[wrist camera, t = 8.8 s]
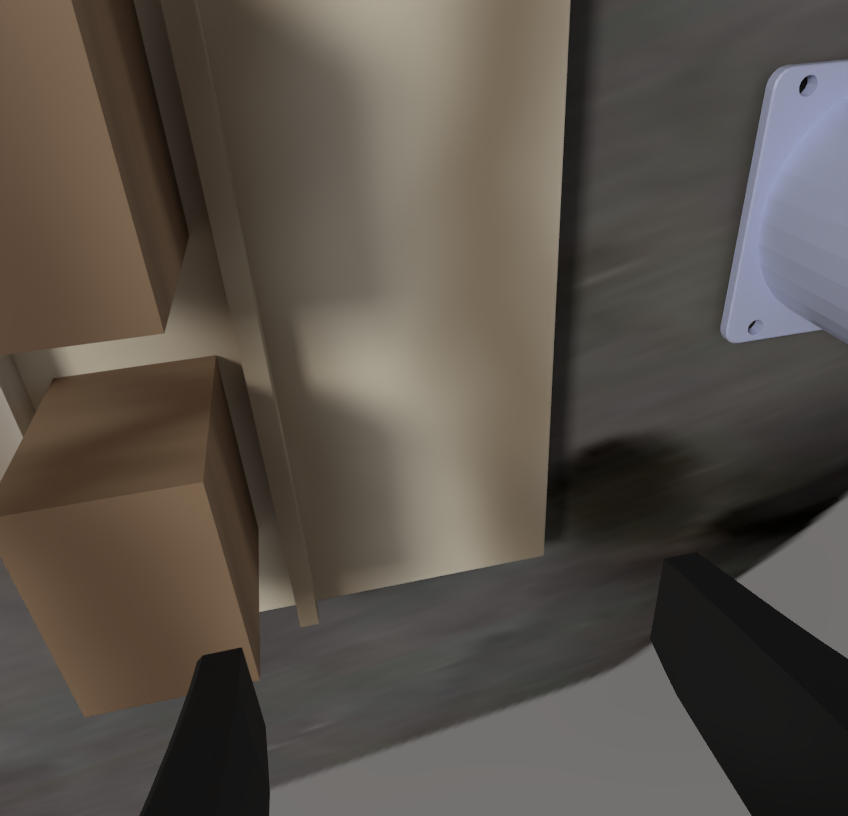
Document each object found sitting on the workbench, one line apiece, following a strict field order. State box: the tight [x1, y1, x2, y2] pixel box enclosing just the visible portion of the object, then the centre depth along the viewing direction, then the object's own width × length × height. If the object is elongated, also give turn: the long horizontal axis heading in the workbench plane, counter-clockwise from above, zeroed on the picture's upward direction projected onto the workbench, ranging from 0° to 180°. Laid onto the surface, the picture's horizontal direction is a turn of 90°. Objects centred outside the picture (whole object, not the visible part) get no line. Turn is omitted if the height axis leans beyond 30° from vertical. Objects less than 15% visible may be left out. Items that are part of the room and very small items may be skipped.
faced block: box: [0, 355, 260, 717], centre depth 17 cm, size 4×6×6 cm
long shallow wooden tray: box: [0, 0, 570, 627], centre depth 16 cm, size 15×28×2 cm, turn 4°
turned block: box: [0, 0, 189, 355], centre depth 12 cm, size 4×6×6 cm
